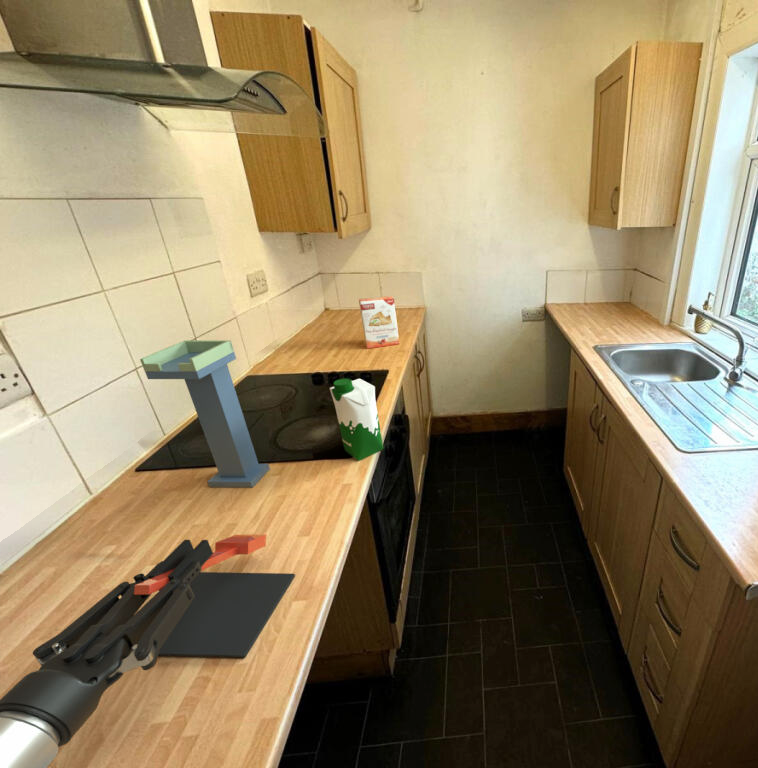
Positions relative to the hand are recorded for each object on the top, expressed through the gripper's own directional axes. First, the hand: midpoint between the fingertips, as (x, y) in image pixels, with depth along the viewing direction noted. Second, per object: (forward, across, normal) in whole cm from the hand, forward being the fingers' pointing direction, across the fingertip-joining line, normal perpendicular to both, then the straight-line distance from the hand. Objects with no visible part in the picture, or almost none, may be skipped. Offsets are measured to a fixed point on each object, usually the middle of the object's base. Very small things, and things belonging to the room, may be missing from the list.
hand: (198, 546), depth 62 cm
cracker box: (+128, -15, -12) cm, 130 cm away
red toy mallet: (0, 0, -4) cm, 4 cm away
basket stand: (+30, -18, -12) cm, 37 cm away
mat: (-2, 0, -12) cm, 12 cm away
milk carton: (+44, +7, -12) cm, 47 cm away
